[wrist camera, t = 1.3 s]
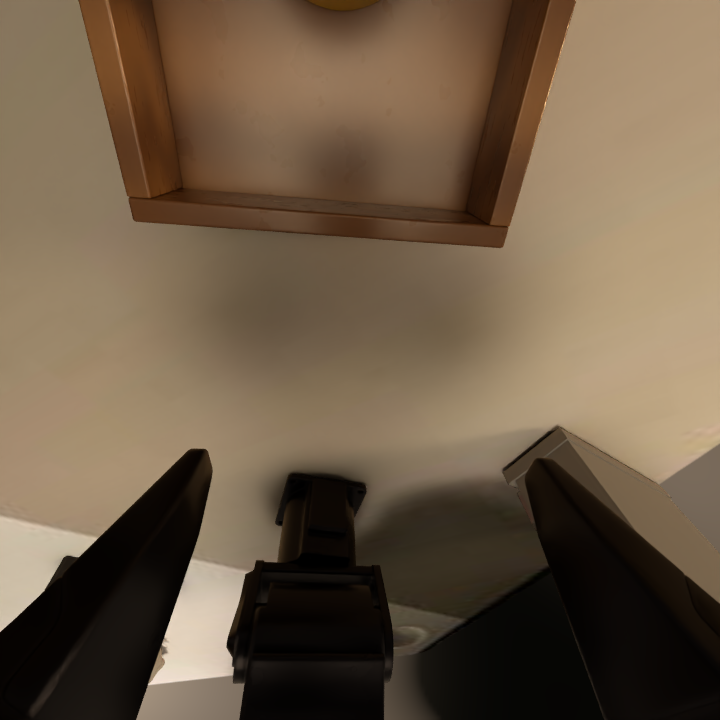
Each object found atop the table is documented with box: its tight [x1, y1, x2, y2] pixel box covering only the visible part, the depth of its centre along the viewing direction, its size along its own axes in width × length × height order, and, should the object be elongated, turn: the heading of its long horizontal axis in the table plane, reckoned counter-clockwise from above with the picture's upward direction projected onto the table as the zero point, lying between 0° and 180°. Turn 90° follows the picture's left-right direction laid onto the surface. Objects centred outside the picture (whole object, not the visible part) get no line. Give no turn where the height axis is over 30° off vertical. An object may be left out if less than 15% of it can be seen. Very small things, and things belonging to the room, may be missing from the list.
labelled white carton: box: [503, 427, 720, 603], centre depth 20 cm, size 14×6×25 cm, turn 57°
